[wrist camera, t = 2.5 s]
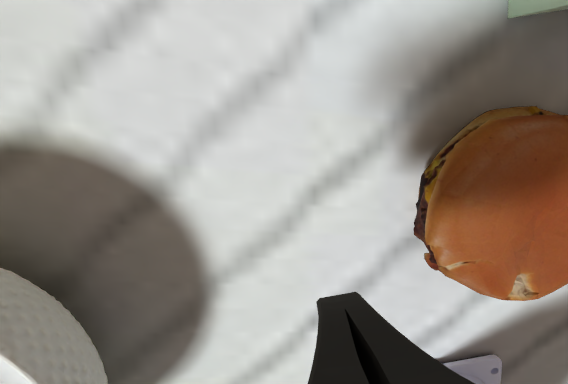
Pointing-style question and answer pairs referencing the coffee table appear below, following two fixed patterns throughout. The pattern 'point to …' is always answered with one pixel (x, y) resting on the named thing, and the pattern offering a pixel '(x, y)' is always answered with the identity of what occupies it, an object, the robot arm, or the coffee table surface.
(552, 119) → the burger
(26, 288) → the cereal bowl
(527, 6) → the pale green cube
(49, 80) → the coffee table surface
